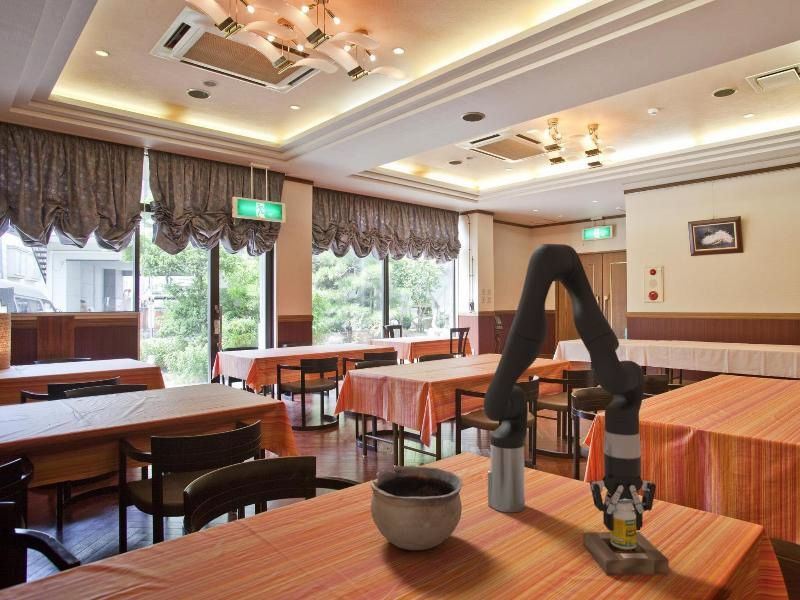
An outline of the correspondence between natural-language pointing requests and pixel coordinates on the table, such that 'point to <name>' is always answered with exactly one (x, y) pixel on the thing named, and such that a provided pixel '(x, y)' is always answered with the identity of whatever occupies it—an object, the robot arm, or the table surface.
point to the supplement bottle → (624, 525)
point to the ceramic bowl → (416, 505)
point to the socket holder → (625, 555)
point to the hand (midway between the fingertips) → (623, 528)
